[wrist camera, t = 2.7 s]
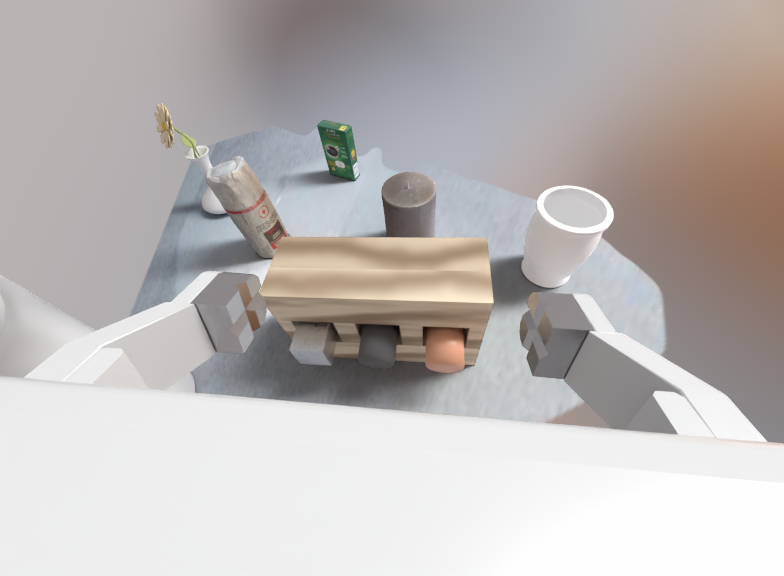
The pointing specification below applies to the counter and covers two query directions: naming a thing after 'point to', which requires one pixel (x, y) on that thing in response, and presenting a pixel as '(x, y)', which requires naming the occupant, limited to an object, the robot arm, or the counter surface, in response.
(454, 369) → the terracotta button
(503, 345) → the counter surface
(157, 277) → the counter surface
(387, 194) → the pillar candle
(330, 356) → the gray metal cube
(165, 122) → the flower in vase
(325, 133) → the coffee box
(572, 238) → the jar
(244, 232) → the paper wrapped package
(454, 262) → the wooden holder box
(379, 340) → the dark grey cylinder
